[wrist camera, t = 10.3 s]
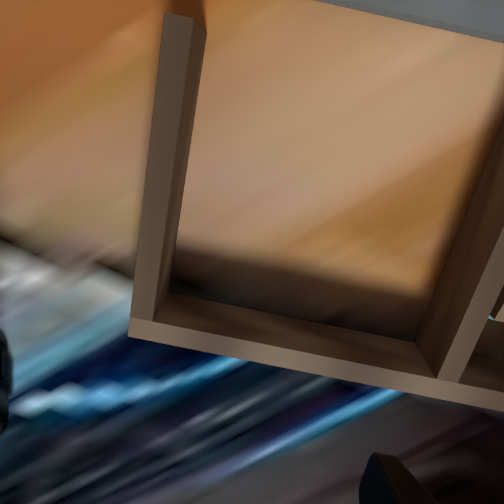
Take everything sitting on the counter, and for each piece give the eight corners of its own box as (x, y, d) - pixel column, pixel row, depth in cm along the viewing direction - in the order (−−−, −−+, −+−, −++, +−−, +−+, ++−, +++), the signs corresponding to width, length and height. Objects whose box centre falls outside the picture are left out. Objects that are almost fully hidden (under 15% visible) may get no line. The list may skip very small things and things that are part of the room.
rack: (147, 305, 21) (127, 336, 18) (182, 28, 16) (164, 11, 14) (525, 382, 21) (563, 423, 19) (657, 134, 17) (735, 139, 14)
